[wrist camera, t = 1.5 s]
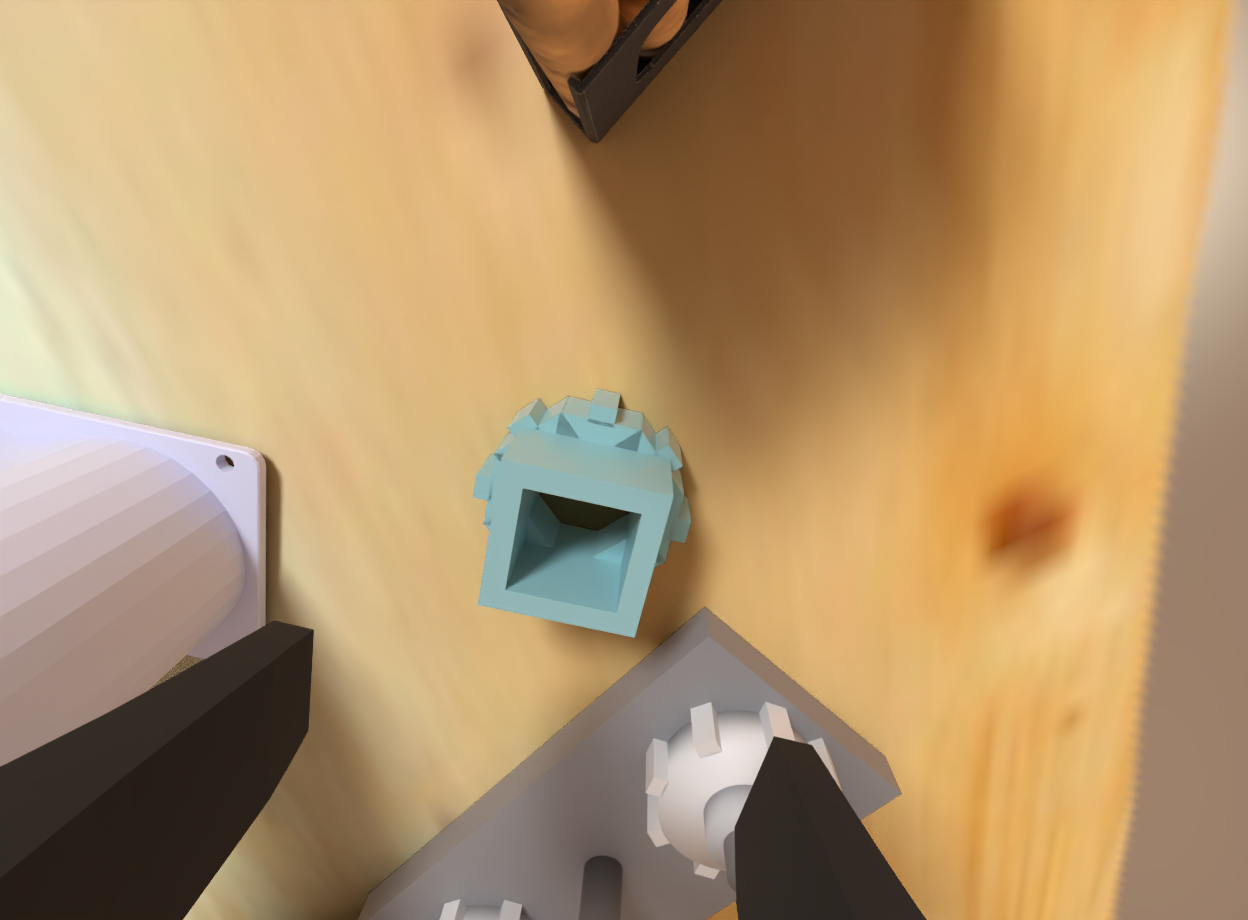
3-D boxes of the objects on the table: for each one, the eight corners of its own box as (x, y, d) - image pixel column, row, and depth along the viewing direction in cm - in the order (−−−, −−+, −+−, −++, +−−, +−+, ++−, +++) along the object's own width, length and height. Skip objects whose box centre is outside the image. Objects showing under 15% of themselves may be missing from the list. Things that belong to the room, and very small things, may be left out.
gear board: (535, 991, 27) (511, 1150, 22) (368, 893, 25) (304, 1045, 21) (885, 756, 21) (950, 903, 17) (704, 606, 20) (721, 725, 15)
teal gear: (476, 550, 19) (433, 629, 15) (503, 367, 17) (462, 406, 13) (661, 590, 19) (663, 676, 16) (711, 414, 17) (728, 466, 13)
